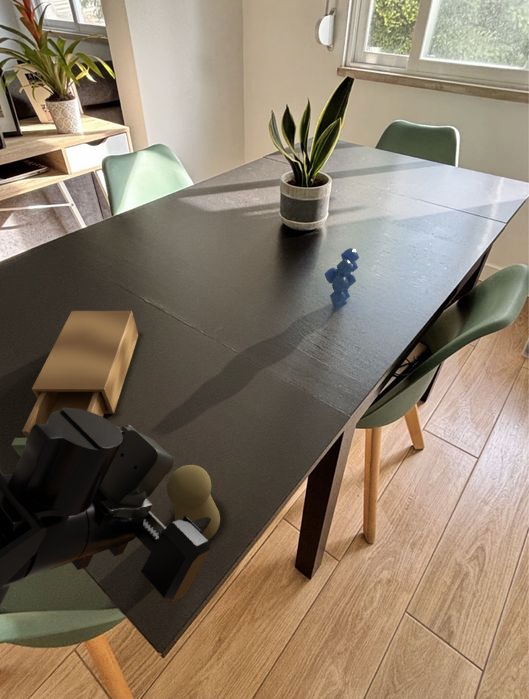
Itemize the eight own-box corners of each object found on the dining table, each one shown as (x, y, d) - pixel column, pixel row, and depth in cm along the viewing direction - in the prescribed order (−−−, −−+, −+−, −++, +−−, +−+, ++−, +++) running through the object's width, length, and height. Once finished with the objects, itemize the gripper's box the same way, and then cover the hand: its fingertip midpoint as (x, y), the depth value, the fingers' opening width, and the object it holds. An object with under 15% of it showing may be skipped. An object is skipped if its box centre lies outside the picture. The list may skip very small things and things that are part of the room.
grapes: (329, 282, 97) (335, 234, 89) (358, 289, 95) (367, 240, 87) (313, 312, 89) (319, 262, 81) (345, 320, 87) (353, 270, 79)
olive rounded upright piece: (201, 553, 54) (191, 514, 47) (165, 528, 56) (150, 487, 49) (229, 513, 58) (223, 471, 50) (194, 491, 60) (183, 448, 52)
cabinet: (113, 413, 70) (104, 389, 66) (45, 413, 70) (31, 389, 66) (138, 335, 84) (131, 310, 79) (81, 335, 84) (71, 310, 79)
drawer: (83, 489, 60) (73, 472, 56) (11, 489, 60) (-3, 472, 56) (121, 371, 76) (115, 353, 72) (65, 371, 76) (56, 352, 72)
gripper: (179, 519, 31) (273, 487, 45) (48, 391, 40) (160, 397, 54) (115, 640, 33) (225, 573, 46) (1, 490, 41) (123, 471, 55)
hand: (181, 496), depth 50 cm, fingers open, 9 cm apart
